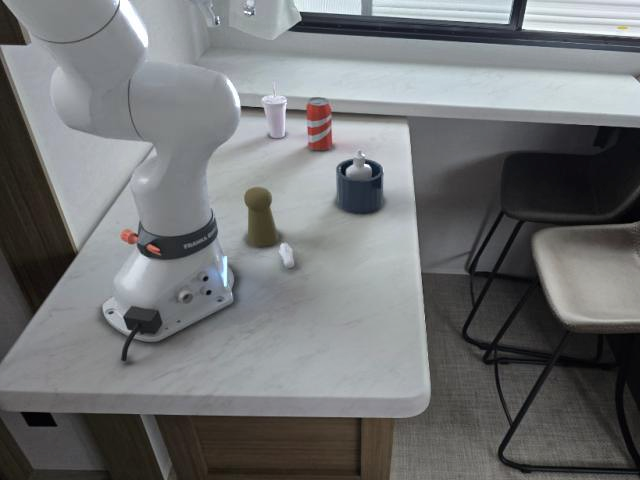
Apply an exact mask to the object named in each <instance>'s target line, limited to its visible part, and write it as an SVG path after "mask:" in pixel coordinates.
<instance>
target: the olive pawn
mask: <svg viewBox="0 0 640 480" xmlns="http://www.w3.org/2000/svg"><path fill="white" fill-rule="evenodd" d="M272 197H273V195H272V193H271V191H269V190H268V188H266V187H262V186H254V187H251V188H249V189H247V190H246V191H245V193H244V195H243V201H244V204H245V207H247V209H248V210H247V213H248V214H247V242H248V243H249V244H250V245H252V246H253V247H257V248H268V247H271V246H273V245H275V244H276V243H277V242H278V240H279V234H278V231H277V226H276V222H275V219H274V216H273V211H272V208H271V206H272V203H273V202H272V201H273V198H272Z"/></svg>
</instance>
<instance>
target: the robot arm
mask: <svg viewBox="0 0 640 480" xmlns="http://www.w3.org/2000/svg"><path fill="white" fill-rule="evenodd" d="M212 1H213V0H182V2H185V3H187V4H188V3H189V4H192V5H197V6H198V8H199V9H200V11H201V12H202V14H203V16H205V17H204V18H205V22H206V26H207V27H208V28H212V29H214V28H216V27H219V26H220V21H219V20H220V19H219V15H216V14H214V12H213V11H212V9H211V8H213V2H212ZM2 2H3V3H4V4H5V5H6V7H7V8H8V9H9V10H10V12H11V13H12V14H13V15H14V17H15V18H16V19H17V20H18V21H19V23H21V25H22V26H23V27H24V28H25V29H26V30H27V31H28V32H29V33H30V35H31V36H32V37H33V38H34V39H35V40H36V41H37V42H38V43H39V45H41V46H42V48H43V49H44V50H45V51H46V52H47V53H48V54H49V56H50V57H51V58H52V59H53V61H55V62H56V64H57V67H56V68H55V70H54V71H53V73H52V75H51V78H50V84H49V95H50V101H51V104H52V106H53V109H54V111H55V113H56V115H57V116H58V118H59V119H60V120H61V121H62V123H63V124H64V125H66V127H68V128H69V129H71V130H74V131H78V132H81V133H84V134H87V135H90V136H94V137H98V138H102V139H107V140H117V141H118V140H119V141H131V142H143V143H150V144H152V145H153V147H154V150H155V152H156V155H154V156H151V157H149V158H147V159H145V160H144V161H142V162H141V163H140V164H138V165H137V167H135V169H134V170H133V172H132V175H131V178H130V185H129V186H130V191H131V194H132V197H133V201H134V204H135V207H136V210H137V215H138V217H139V221H138V228H137V233H136V232H133V231H132V230H131V229H128V228H126V229H123V230H122V231H121V232H120V237H119V238H120V239H121V241H123V242H124V243H127V244H128V245H136V246H135V248H134V249H133V251H131V254H130V255H128V257H127V259H126V260H125V262H124V264H123V265H122V266H121V268H120V269H119V270H118V272H117V273H116V274H115V275H114V277H113V278H112V284H111V285H112V287H111V288H112V296H111V297H110V298H109V299H107V300H106V301H105V302H104V303H103V304H102V313H103V316H104V319H105V320H106V321H107V322H108V324H109V325H110V326H112V327H113V328H114V329H115V330H117V331H118V332H119V333H122V335H124V336H126V337H127V338H126V340H125V342H124V344H123V347H122V351H121V358H120V361H123V362H126V361H127V359H128V352H129V348H130V346H131V344H132V341H133V340H136V341H140V342H147V343H148V342H149V343H157V342H160V341H163V340H165V339H166V338H168V337H170V336H172V335H174V334H176V333H177V332H178V333H179V332H180V331H181V330H183V329H185V328H187V327H189V326H191V325H193V324H195V323H197V322H199V321H201V320H203V319H205V318H206V317H209V316H210V315H212V314H215V313H216V312H218V311H220V310H222V309H224V308H227V307H228V306H230V305H232V304H233V303H234V295H233V292H232V290H233V287H234V283H235V275H234V273H233V271H232V269H231V268H230V266H229V264H228V258H227V255H225V256H224V253H223V250H222V247H221V244H220V240H219V238H218V234H219V229H218V224H217V222H218V221H217V218H216V215H215V212H214V210H213V209H212V207H211V202H210V196H209V189H208V179H207V177H208V176H207V171H208V166H209V162H210V161H211V158H212V156H213V155H214V154H215V152H216V151H217V150H218V149H219V148H220V147H221V146H222V145H224V144H225V143H227V142H228V141H229V140H230V139H231V138H232V137H233V136H234V135H235V133H236V132H237V129H238V127H239V125H240V121H241V116H242V105H241V99H240V97H239V93H238V90H237V89H236V87H235V86H234V84H233V82H232V80H230V78H229V77H228V76H227V75H226V74H225V73H222V72H221V71H220V72H219V71H216V70H213V69H210V68H207V67H203V66H199V65H196V64H192V63H180V62H168V61H155V60H147V59H146V58H147V56H148V54H149V46H150V39H149V31H148V28H147V25H146V22H145V21H144V19H143V18H142V16H141V14H140V13H139V11H138V10H137V7H136V6H135V5H134V3H133V2H132V0H2ZM258 2H259V0H246V4H245V5H243V11H244V12H243V13H244V16H246V17H247V18H253V17H256V16H257V4H258Z"/></svg>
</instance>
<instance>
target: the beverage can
mask: <svg viewBox="0 0 640 480" xmlns="http://www.w3.org/2000/svg"><path fill="white" fill-rule="evenodd" d="M307 101H308V102H307V104H306V105H305V106H306V108H305V109H306V127H307V128H306V129H307V145H308V147H310V148H311V149H313V150H314V151H319V152H322V151H327V150H328V149H330V148H331V147H332V146H333V129H332V128H333V127H332V125H333V124H332V105H331V104H330V100H329V99H328V98H326V97H321V96H313V97H310V98H308V100H307Z"/></svg>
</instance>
